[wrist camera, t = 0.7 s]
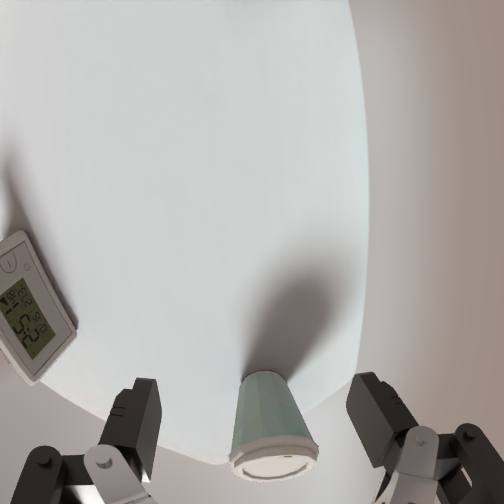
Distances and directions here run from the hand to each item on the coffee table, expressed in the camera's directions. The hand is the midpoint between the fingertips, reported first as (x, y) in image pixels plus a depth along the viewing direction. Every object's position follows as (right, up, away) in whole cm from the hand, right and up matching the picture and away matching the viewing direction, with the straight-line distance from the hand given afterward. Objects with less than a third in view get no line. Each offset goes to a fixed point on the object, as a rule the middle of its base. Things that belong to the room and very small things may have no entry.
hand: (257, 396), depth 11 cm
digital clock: (-27, +1, +21) cm, 34 cm away
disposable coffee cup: (+1, -13, +30) cm, 33 cm away
